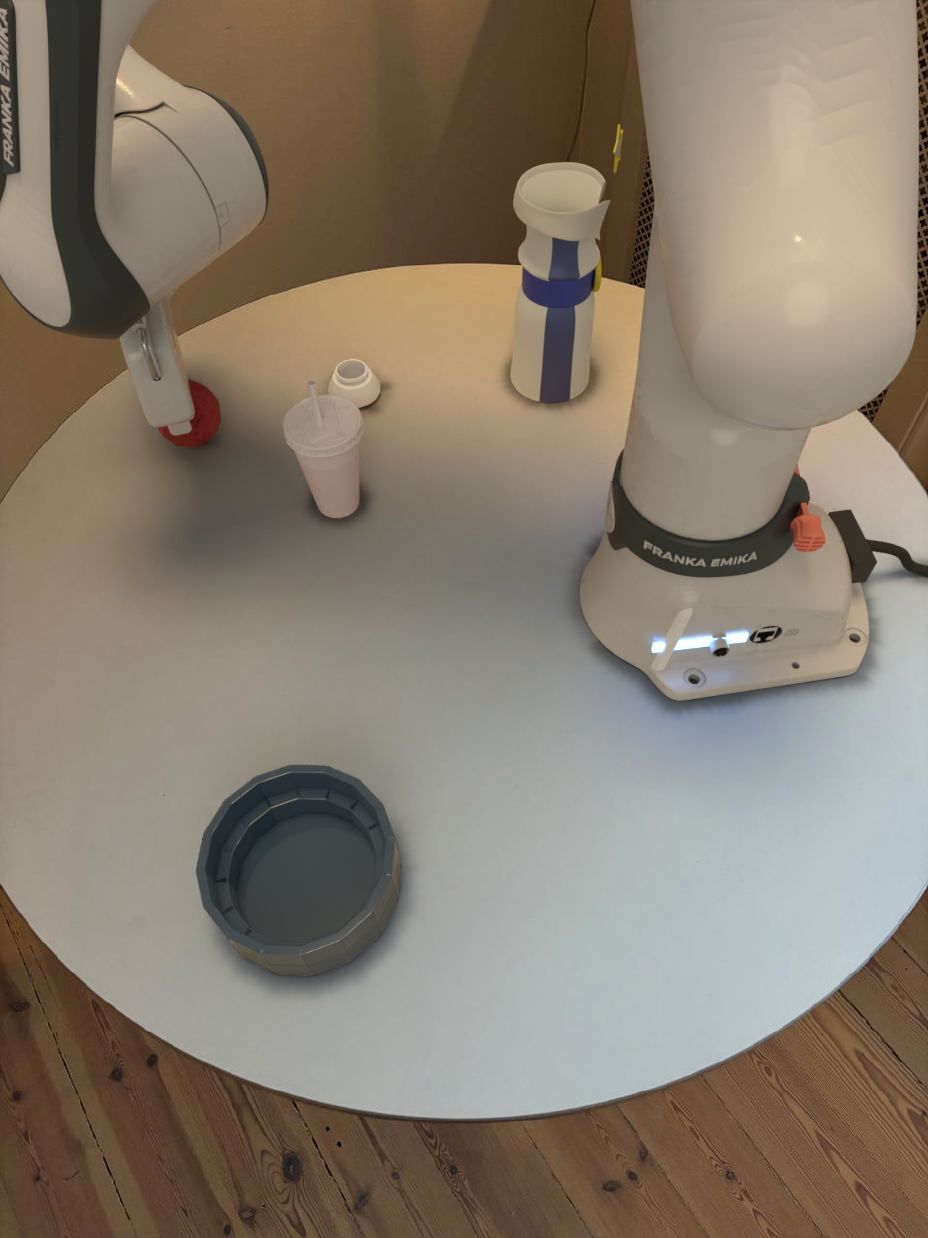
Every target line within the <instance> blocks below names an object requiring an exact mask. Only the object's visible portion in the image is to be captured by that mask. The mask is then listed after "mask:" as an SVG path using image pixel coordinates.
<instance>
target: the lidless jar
mask: <svg viewBox="0 0 928 1238" xmlns="http://www.w3.org/2000/svg"><path fill="white" fill-rule="evenodd" d="M380 394H381V381H380V380H379V379H378V377H377V375H376V374H375V373H374V372H373V371H372V370H371V368H370V367H369V366H368V365H367V364H366V363H365V362H364V361H362V360H360V359H358V358H349V359H345V360H343V361H340V362H339V363H338V364H337V365H336V367H335V369H334V372H333V374H332V375H331V377H330V380H329V382H328V384H327V395H336V396H340V397H343V398H346V399H348V400H350V401H351V402H353V403H354V404H355V405H356V406H357V407H358V409H360V408H362V407H367V406H369V405H371V404H372V403H373V402H375V401H376V400H377V399H378V398H379V396H380Z"/></svg>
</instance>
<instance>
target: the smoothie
mask: <svg viewBox="0 0 928 1238" xmlns="http://www.w3.org/2000/svg"><path fill="white" fill-rule="evenodd" d="M307 387H308V388H307V389H308V391H309V397H306V398H304V399H302V400H300V401H298V402H296V403H295V404H294V405H292V406H291V407H290V408H289V409H288V411H287V412H286V414H285V416H284V418H283V422H282V429H283V433H284V434H283V435H284V439H285V441H286V444H287V445H288V446H289V448H291V450H293V451H294V455H295V457H296V459H297V461H298V464H299V466H300V468H301V471H302V474H303V475H304V477H305V480H306V482H307V484H308V485H307V486H308V488H309V489H310V492H311V494H312V496H313V500H314V501H315V504H316V507H317V508H318V510H319V512H320V513H321V514H322V515H323V516H325V517H328V518H332V519H342V518H345V517H348V516H350V515H352V514H354V512H356V510H357V509H358V507H359V506H360V466H361V465H360V462H361V460H360V459H361V458H360V455H361V454H360V453H361V451H360V450H361V449H360V448H361V437H362V436H363V432H364V428H365V427H364V420H363V417H362V413H361V411H360V408H358V407H357V406H356V405H355V404H354V403H353V402H351V401H350V400H348V399H346V398H343V397H340V396H336V395H328V394H318V390H317V386H316V382H315V380H309V381H308V382H307Z"/></svg>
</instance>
